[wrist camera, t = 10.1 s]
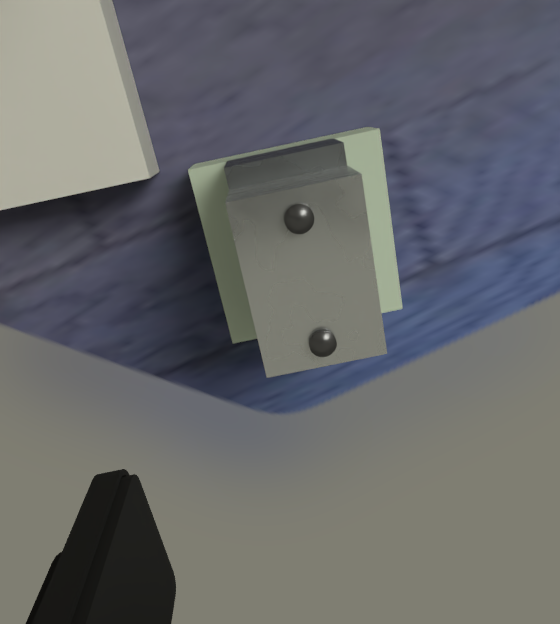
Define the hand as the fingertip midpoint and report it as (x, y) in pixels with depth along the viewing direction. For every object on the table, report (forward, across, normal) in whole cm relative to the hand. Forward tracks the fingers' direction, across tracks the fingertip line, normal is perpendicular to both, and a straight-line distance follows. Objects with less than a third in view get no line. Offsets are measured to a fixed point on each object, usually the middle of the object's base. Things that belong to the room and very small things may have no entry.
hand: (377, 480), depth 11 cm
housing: (+20, 0, 0) cm, 20 cm away
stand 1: (+23, +12, -10) cm, 28 cm away
